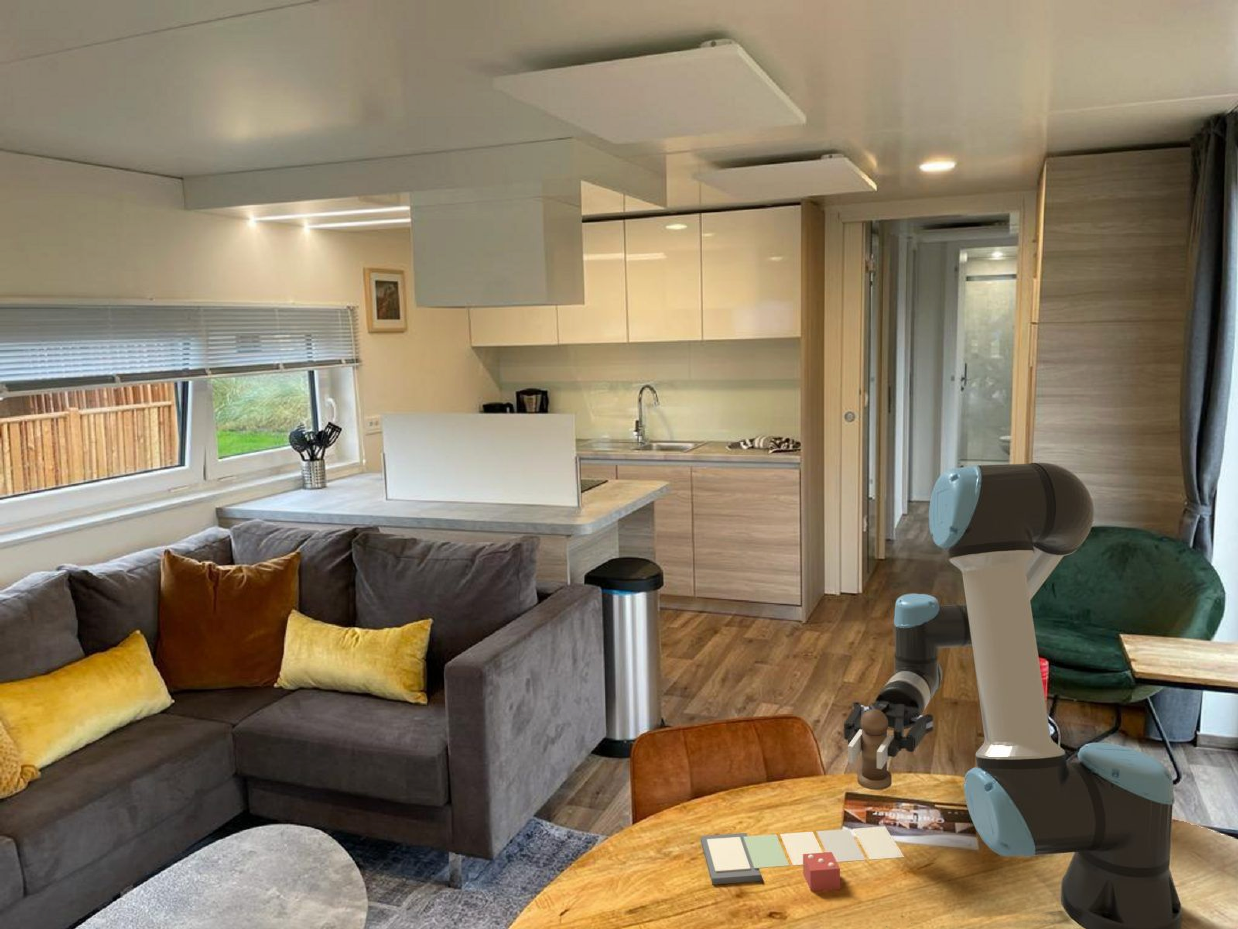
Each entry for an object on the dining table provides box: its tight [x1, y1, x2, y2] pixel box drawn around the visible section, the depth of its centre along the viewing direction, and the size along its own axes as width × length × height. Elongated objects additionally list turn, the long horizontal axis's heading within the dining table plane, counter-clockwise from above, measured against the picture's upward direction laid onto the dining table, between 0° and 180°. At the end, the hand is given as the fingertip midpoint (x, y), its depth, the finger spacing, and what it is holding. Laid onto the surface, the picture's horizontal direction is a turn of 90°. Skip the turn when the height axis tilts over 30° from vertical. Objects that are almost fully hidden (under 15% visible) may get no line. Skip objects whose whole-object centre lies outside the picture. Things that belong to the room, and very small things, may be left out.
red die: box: [802, 851, 841, 892], centre depth 143 cm, size 4×4×5 cm
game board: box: [700, 825, 905, 886], centre depth 152 cm, size 12×31×1 cm, turn 93°
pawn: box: [856, 709, 892, 791], centre depth 151 cm, size 5×5×12 cm
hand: (864, 757), depth 146 cm, fingers closed on pawn, 4 cm apart
